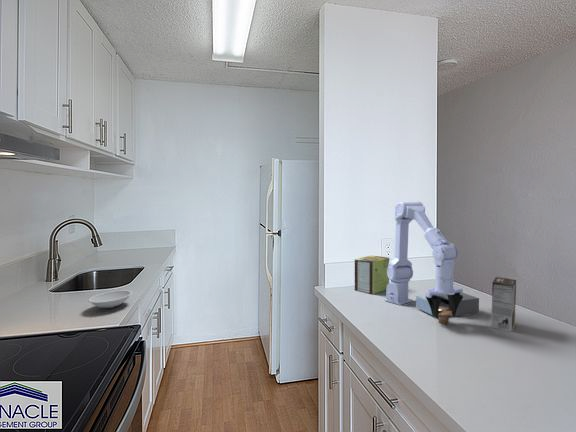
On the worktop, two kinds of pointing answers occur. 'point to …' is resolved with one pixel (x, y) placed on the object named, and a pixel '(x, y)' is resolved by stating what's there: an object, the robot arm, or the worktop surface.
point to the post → (444, 320)
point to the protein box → (371, 274)
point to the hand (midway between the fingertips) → (443, 315)
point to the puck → (445, 311)
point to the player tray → (427, 304)
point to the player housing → (464, 305)
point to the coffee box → (503, 304)
